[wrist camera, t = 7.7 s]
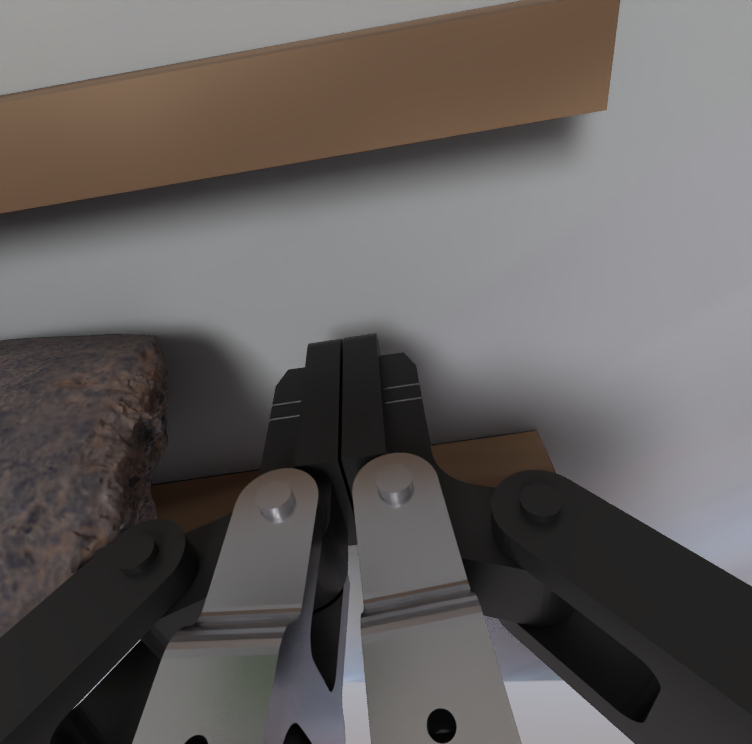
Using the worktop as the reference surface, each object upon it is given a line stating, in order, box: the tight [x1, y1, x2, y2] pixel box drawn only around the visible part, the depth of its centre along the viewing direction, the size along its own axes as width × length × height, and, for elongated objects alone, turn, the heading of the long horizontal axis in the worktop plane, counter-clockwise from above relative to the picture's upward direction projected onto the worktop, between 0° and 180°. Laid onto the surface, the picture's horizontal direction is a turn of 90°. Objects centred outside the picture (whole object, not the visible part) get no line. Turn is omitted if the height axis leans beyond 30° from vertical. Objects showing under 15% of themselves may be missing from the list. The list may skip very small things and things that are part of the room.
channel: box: [0, 0, 620, 533], centre depth 11 cm, size 12×25×4 cm, turn 98°
